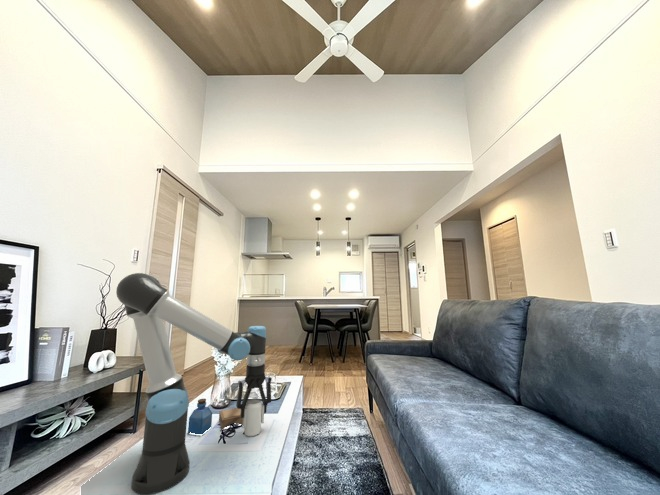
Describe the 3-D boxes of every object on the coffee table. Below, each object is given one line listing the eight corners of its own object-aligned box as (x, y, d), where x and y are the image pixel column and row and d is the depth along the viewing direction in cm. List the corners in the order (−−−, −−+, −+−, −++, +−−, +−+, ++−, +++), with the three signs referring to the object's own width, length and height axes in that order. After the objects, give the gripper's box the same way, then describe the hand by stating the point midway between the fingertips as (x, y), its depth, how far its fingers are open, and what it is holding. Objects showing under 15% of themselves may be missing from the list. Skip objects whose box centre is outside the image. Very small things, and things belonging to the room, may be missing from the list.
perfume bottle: (198, 427, 113) (200, 396, 116) (211, 428, 112) (213, 397, 114) (187, 434, 108) (190, 402, 110) (201, 436, 106) (203, 403, 108)
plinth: (221, 430, 110) (222, 419, 111) (218, 420, 119) (219, 410, 120) (246, 425, 115) (247, 414, 116) (242, 416, 124) (242, 405, 124)
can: (256, 437, 105) (257, 404, 107) (241, 436, 106) (242, 403, 108) (263, 429, 111) (264, 398, 113) (249, 428, 112) (250, 397, 115)
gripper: (233, 369, 105) (229, 433, 101) (280, 363, 114) (279, 422, 110) (230, 364, 112) (226, 425, 108) (275, 359, 121) (273, 415, 117)
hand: (253, 423), depth 109 cm, fingers closed on can, 6 cm apart
